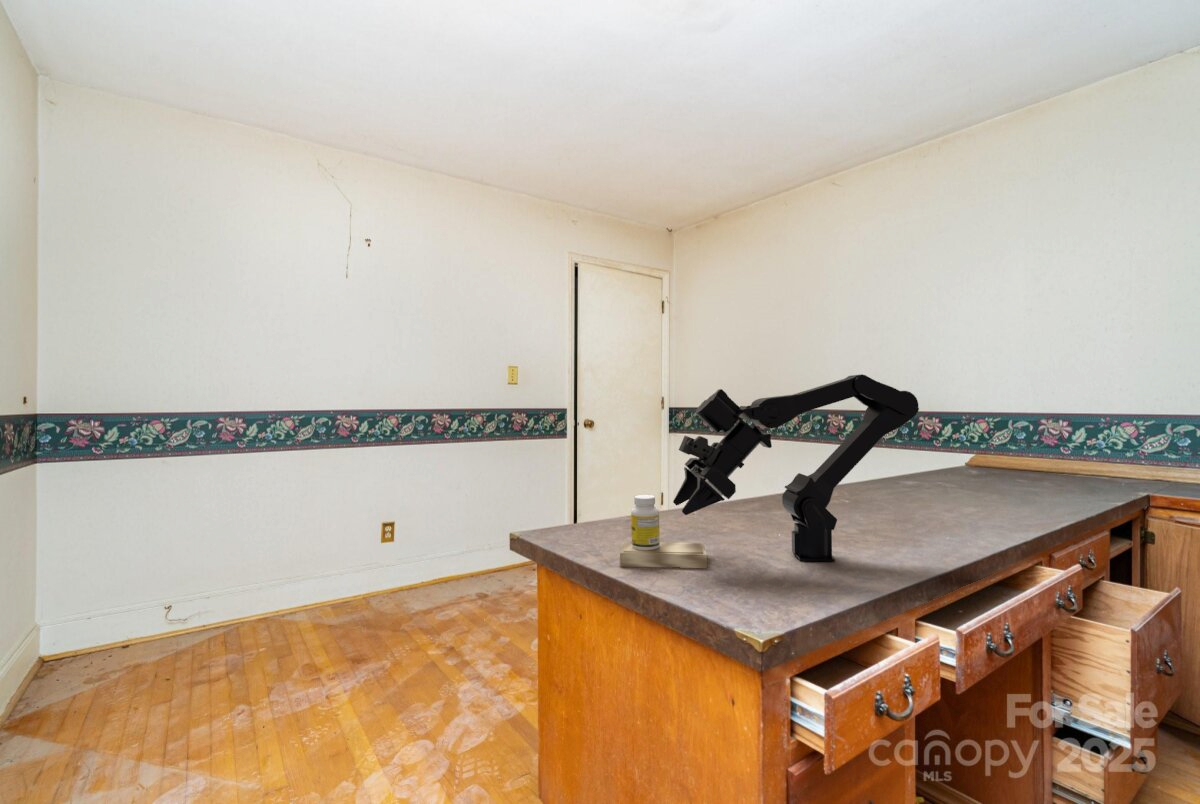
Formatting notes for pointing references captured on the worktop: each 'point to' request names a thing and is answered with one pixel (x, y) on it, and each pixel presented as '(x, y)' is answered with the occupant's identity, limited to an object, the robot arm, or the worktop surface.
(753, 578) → the worktop surface
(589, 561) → the worktop surface
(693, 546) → the birch plinth
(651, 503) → the supplement bottle
